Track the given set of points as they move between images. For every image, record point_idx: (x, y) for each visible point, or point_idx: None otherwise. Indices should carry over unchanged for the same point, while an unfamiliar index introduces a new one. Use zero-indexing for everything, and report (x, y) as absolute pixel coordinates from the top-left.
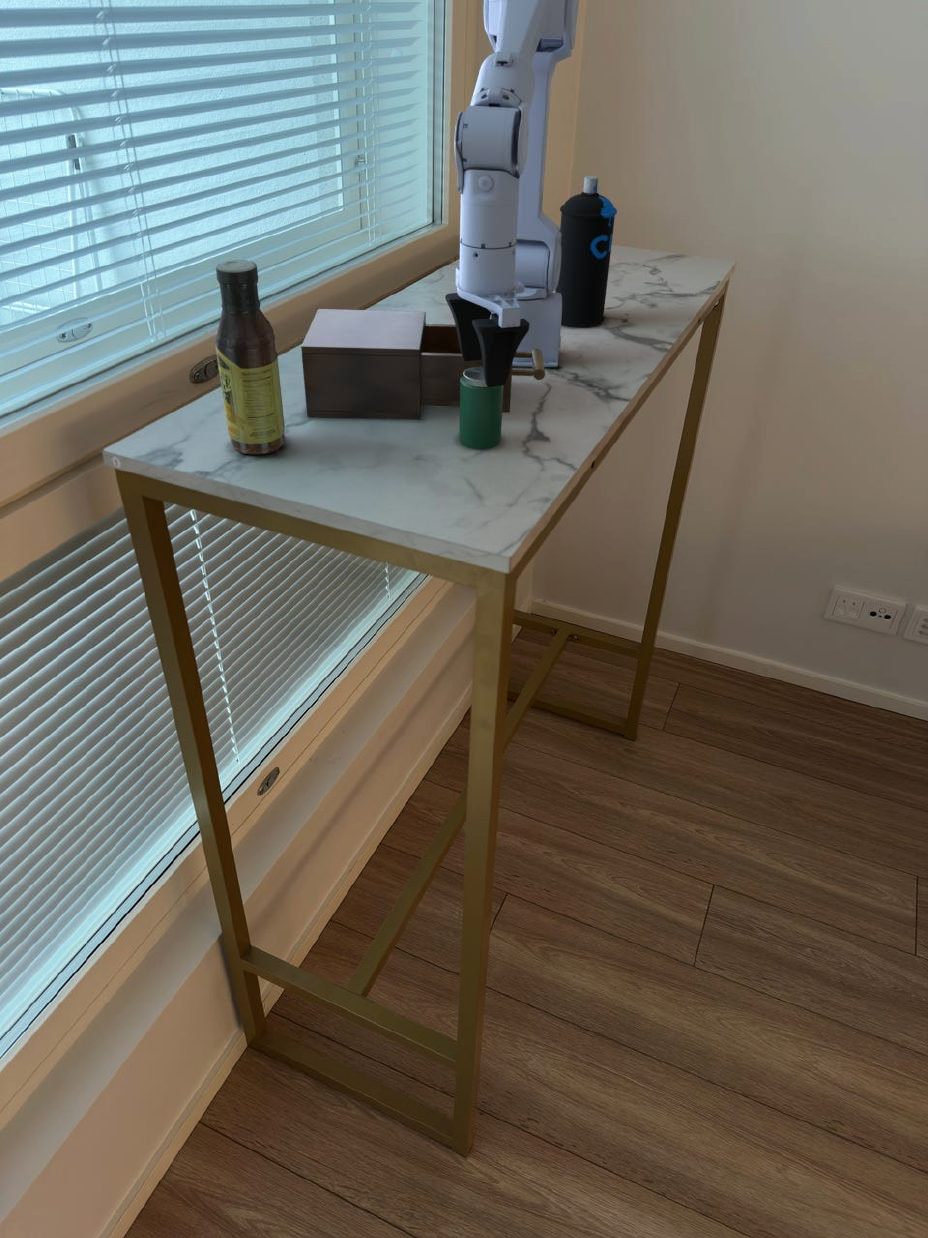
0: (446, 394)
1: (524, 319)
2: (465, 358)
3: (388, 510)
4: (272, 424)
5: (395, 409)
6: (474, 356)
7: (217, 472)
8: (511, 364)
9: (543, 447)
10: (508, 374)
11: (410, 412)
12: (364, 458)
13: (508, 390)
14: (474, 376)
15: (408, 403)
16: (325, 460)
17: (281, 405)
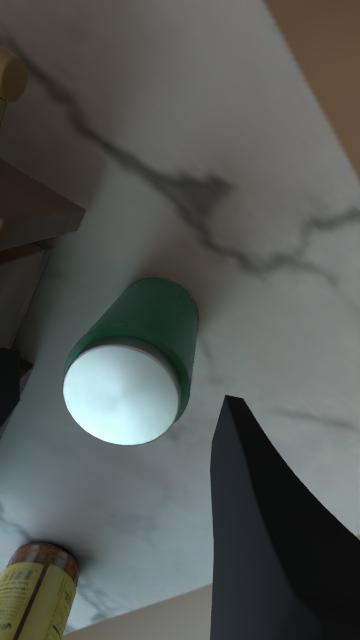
0: (5, 336)
1: (347, 635)
2: (14, 403)
3: None
4: (62, 607)
5: None
6: (12, 379)
7: (102, 609)
8: (269, 440)
9: (248, 217)
10: (253, 416)
11: (20, 386)
12: (137, 489)
13: (59, 219)
14: (134, 428)
15: None
16: (121, 525)
17: (34, 616)
